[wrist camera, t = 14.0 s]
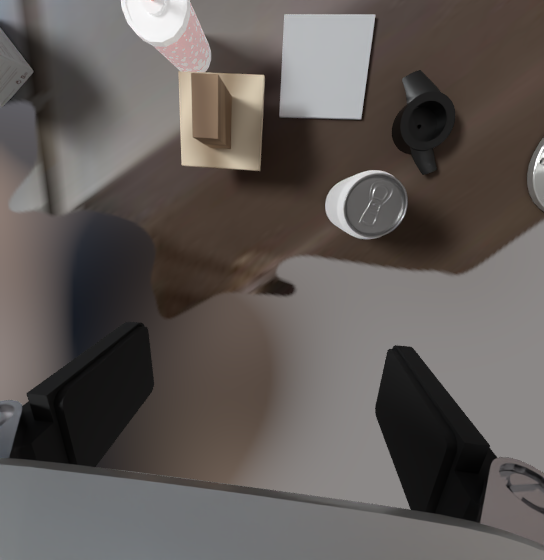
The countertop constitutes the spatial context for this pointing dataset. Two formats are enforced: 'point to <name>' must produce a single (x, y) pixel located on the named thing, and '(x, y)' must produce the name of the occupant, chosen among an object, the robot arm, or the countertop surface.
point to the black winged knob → (423, 121)
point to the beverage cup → (170, 31)
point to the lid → (221, 120)
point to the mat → (325, 65)
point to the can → (367, 204)
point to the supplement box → (11, 69)
